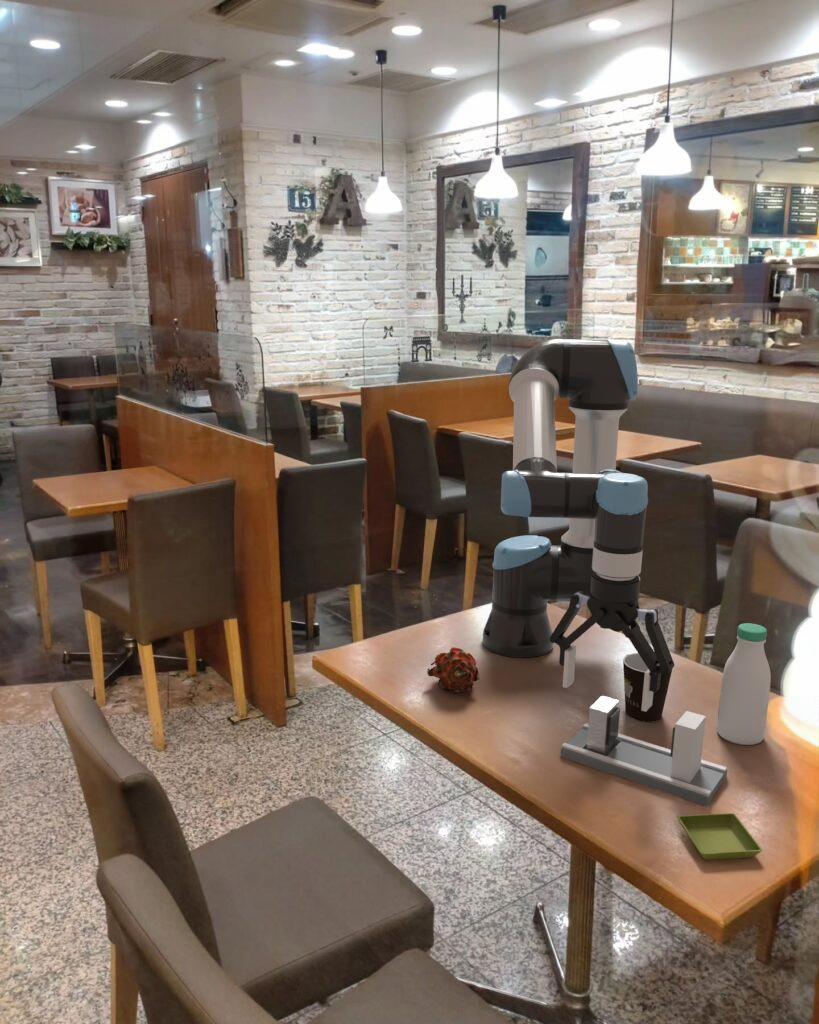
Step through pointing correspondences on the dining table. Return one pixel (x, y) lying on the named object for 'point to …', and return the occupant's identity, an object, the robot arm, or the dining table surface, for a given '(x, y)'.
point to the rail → (658, 761)
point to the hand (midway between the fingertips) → (606, 696)
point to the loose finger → (603, 725)
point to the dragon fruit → (455, 670)
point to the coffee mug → (634, 690)
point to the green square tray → (719, 836)
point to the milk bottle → (745, 688)
